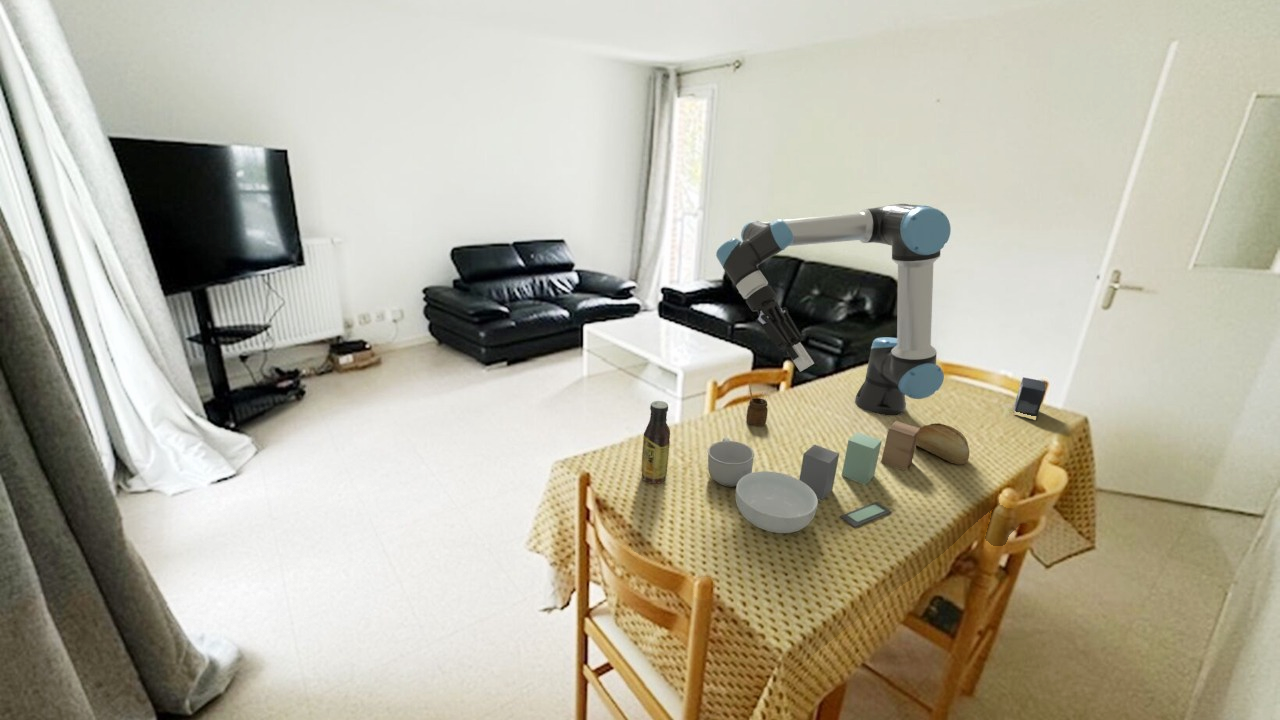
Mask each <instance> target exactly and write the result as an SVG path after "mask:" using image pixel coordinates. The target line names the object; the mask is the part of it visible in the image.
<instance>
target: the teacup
mask: <svg viewBox="0 0 1280 720" xmlns="http://www.w3.org/2000/svg"><path fill="white" fill-rule="evenodd" d="M754 457H755V453H754V450H753V449H752V448H751V446H749V445H747V444H745V443H742V442H739V441H733V440H731V439H730V437H728V436H727V437H723V438H722V441H717V442H715V443H712V444H711V445H710V446H709V447H708V448H707V467H708V468H707V469H708V473H709V475H710V477H711V478H712V480H714V481H715V482H716V483H718V484H719V485H722V486H724V487H730V488H731V487H732V488H733V487H737V483H738V481H739V480H740V479H741V478H742V477H743V476H745V475H747V474H750V473H753V472H752V471H753V467H754Z"/></svg>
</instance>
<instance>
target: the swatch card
mask: <svg viewBox="0 0 1280 720" xmlns="http://www.w3.org/2000/svg"><path fill="white" fill-rule="evenodd" d="M889 514H892V510H891V509H889V508H887V507H885V506H884V505H882V503H879V502H878V501H875V502H872V503H869V504H867V505H864V506H861V507H859V508H857V509H854V510H851V511H849V512H846V513H844V514H841V515H840V516H839V518H840V519H841V520H843V521H844V522H846V524H849V526H851V527H853V528H854V529H855V528H858V527H861V526H863V525H865V524H867V523H871V522H872V521H875V520H877V519H880V518H882V517H884V516H887V515H889Z"/></svg>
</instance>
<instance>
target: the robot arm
mask: <svg viewBox="0 0 1280 720" xmlns="http://www.w3.org/2000/svg"><path fill="white" fill-rule="evenodd" d="M949 220H950V219H949V218H948V217H947V215H946V214H945V213H944V212H943V211H941V210H940V209H938V208H934V207H933V206H929V205H919V204H908V203H897V204H896V203H895V204H890V205H884V206H879V207H878V206H877V207H873V208H864V209H863V208H862V210H861V211H860V212H859V213H858V212H857V213H856V212H855V213H847V214H846V213H845V214H838V215H837V214H835V215H824V216H823V215H822V216H813V217H801V218H793V219H792V218H791V219H781V218H777V219H776V220H768V221H759V220H754V221H749V222H747V223H746V224H744V226H743V228H742V230H741V232H740V238H741V240H740V239H739V238H736V237H735V238H731V239H729V240H727V241H725V242H724V243H723V244H721V245H720V247H718V249H717V251H716V254H715V256H716V258H717V260H718V262H719V264H720V265H721V266H722V269H723V270H724V272H725V273H726V275H727V276H728V278H729V279H730V280H731V282H732V283H733V285H734V287H736V289H737V290H738V294H740V295H741V297H742V298H743V300H745V303H746V305H748V307H749V309H750V310H751V312H753V313H754V312H755V313H756V312H757V314H758V318H756V319H755V321H756V323H757V324H758V325H759V326H760V327H761V328H762V329H763V331H764V332H765V333H766V334H767V335H768V337H769V338H770V340H771V341H772V342H773V344H774V345H775V347H777V349H778V350H779V351H781V353H783V352H787V354H788V355H789V357H790V359H791V360H792V362H793V364H794V365H795V366H796V368H797V369H798V371H799V372H802V371H804V370H806V369H808V368H809V367H811V366H812V365H814V364H815V362H814V360H813V359H812V357H811V355H809V353H808V352H807V350H806V348H805V347H804V345H803V344H802V343H801V342H802V341H804V339H803V336H802V334H801V332H800V330H799V329H798V328H797V325H796V324H795V323H794V320H793V319H792V317H791V315H790V314H789V311H788V308H787V307H786V306H783V307H782V308H781V307H780V305H778V303H777V302H776V301H775V299H776V298H777V294H776V292H775V290H773V288H772V286H771V285H769V282H768V280H767V279H766V277H765V276H764V274H763V272H761V269H759V265H761V264H764V263H765V262H766V261H768V260H770V259H771V258H772V257H774V256H776V255H777V254H778V253H781V252H782V251H784V250H785V249H786V248H788V247H794V246H795V247H797V246H805V245H807V246H808V245H817V244H830V243H841V242H850V241H854V242H855V241H860V242H861V243H862V244H869V243H874V244H875V243H876V244H883V245H888V246H891V260H892V261H893V262H894V263H895V264H897V312H896V313H897V324H896V325H897V327H896V328H897V329H896V330H897V331H896V332H897V333H896V337H886V336H885V337H884V336H883V337H877V338H875V339H874V340H872V344H871V347H870V353H869V359H868V364H867V368H866V374H865V379H864V382H863V383H862V384H861V387H860V388H859V389H858V391H857V393H856V394H855V401H854V403H855V405H857V407H859V408H861V409H862V410H864V411H866V412H869V413H871V414H872V413H873V414H876V415H881V416H889V417H890V416H892V417H893V416H901V415H903V414H904V413H905V412H906V408H907V407H906V406H907V402H906V396H907V397H908V398H910V399H914V400H922V399H926V398H929V397H931V396H933V395H934V394H935V393H936V392H937V391H939V390H940V388H941V387H942V385H943V384H944V379H945V374H944V373H945V372H944V371H943V369H942V368H941V367H940V366H939V365H938V364H937V353H938V352H937V349H936V348H935V347H933V346H932V342H931V341H932V322H933V321H932V319H933V317H932V316H933V315H932V314H933V293H934V291H933V287H934V286H933V285H934V264H935V262H936V261H937V260H938V259H939V258H940V257H941V251H942V249H943V248H944V247H945V245H946V244H947V243H948V241H949V240H950V236H951V229H952V227H951V223H950V221H949Z"/></svg>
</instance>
